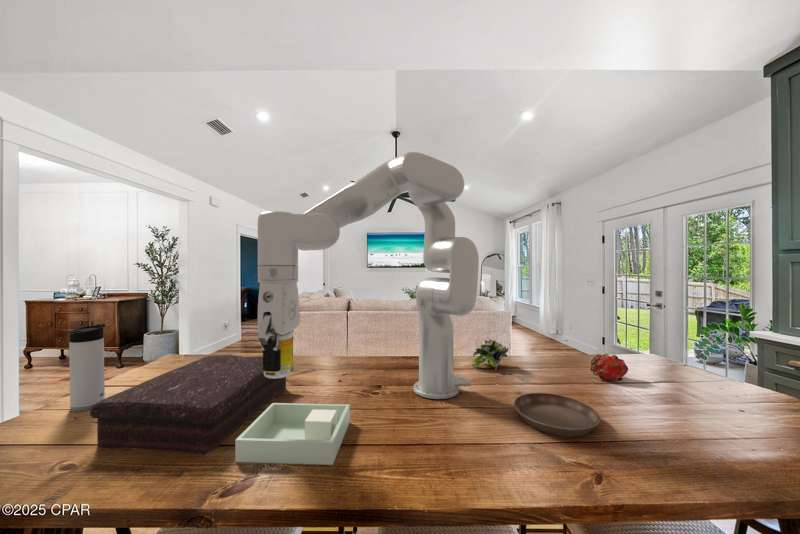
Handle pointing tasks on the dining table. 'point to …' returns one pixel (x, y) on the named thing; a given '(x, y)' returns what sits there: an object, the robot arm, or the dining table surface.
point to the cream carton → (320, 424)
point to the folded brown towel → (187, 406)
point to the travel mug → (86, 367)
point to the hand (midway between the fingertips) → (278, 364)
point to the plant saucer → (557, 414)
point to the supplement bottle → (283, 357)
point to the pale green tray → (290, 436)
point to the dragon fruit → (608, 367)
